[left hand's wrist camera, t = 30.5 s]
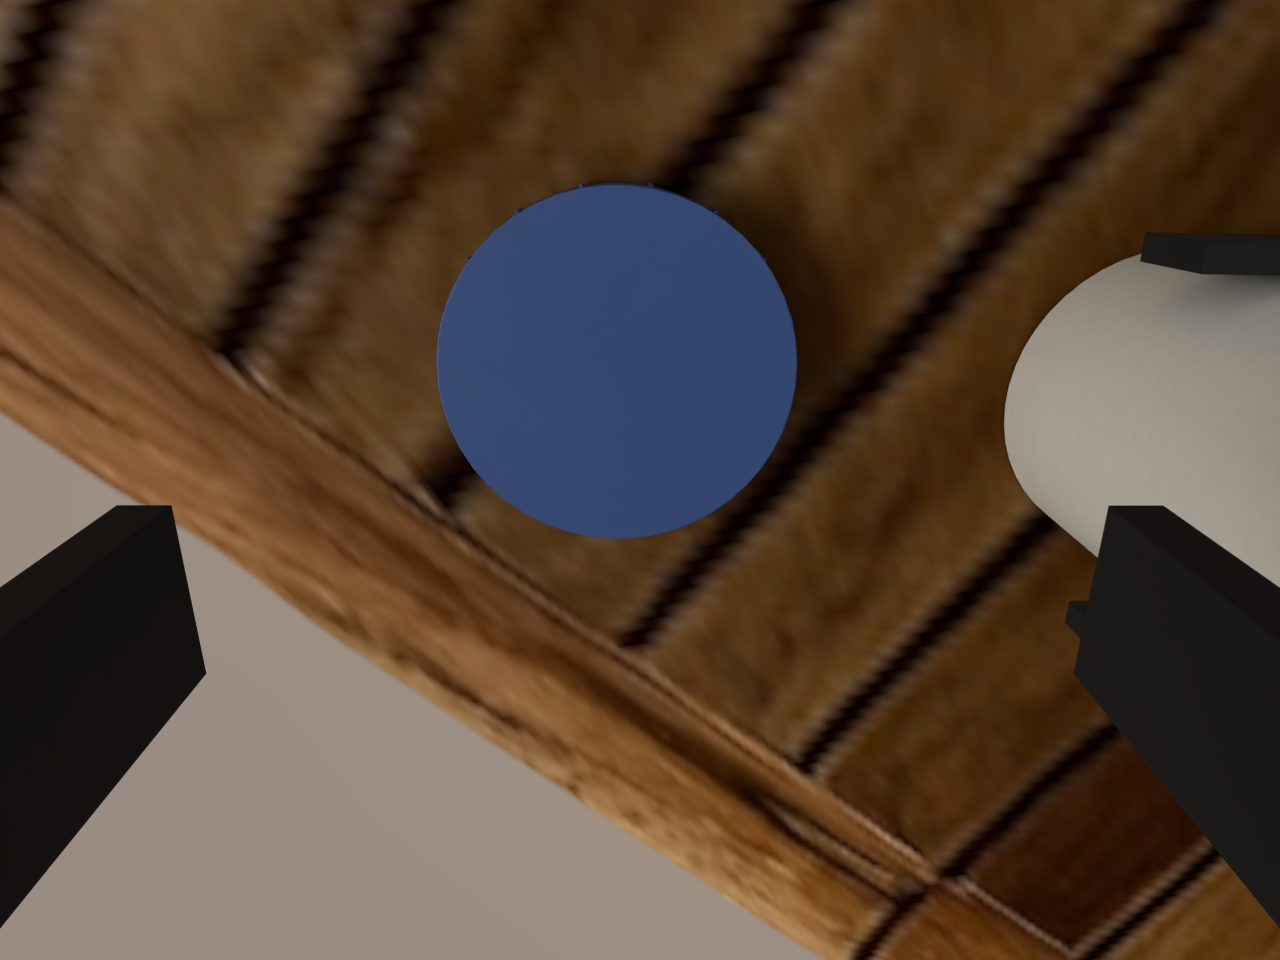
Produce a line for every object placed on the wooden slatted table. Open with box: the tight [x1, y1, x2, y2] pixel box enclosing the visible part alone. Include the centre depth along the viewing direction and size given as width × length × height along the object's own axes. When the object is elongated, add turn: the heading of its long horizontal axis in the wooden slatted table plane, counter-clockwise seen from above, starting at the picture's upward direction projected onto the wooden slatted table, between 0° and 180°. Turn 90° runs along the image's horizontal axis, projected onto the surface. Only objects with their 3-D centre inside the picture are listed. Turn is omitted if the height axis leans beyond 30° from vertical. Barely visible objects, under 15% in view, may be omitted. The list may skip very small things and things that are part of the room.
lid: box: [436, 182, 797, 538], centre depth 28 cm, size 11×11×2 cm
